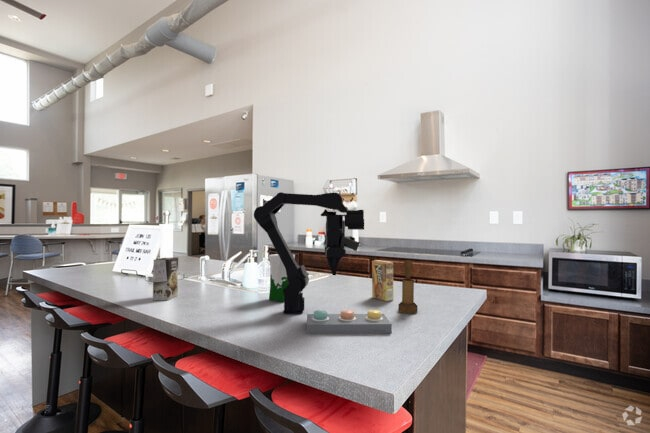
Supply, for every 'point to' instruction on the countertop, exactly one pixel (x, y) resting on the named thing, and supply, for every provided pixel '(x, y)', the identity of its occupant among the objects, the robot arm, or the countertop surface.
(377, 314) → the mustard button
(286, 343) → the countertop surface
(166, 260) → the coffee box
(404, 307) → the brown stepped post
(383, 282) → the candy box
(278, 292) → the milk carton
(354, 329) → the button console
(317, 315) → the teal button
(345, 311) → the terracotta button
